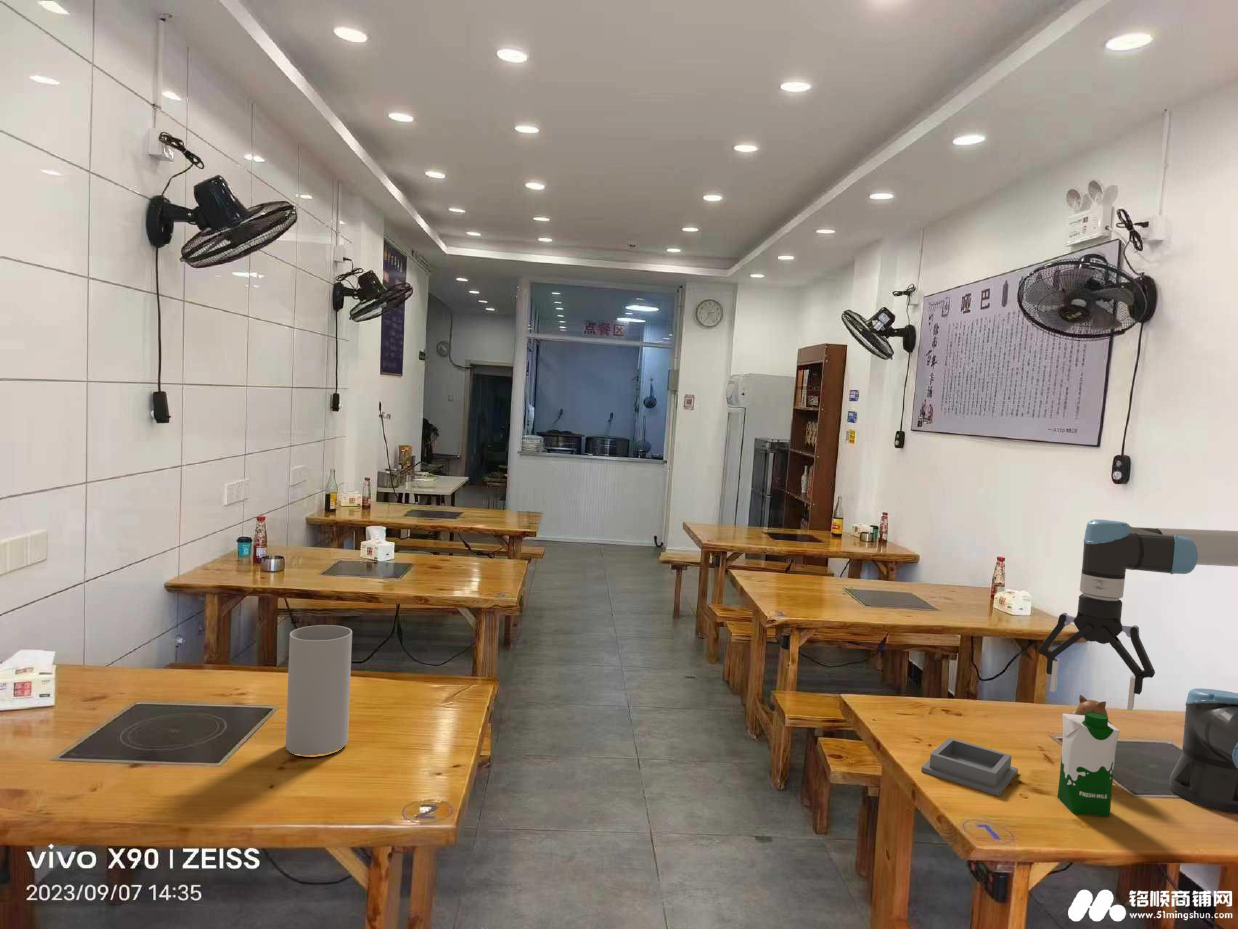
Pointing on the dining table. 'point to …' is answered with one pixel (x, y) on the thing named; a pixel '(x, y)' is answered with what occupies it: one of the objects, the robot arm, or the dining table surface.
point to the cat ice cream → (1090, 707)
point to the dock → (971, 766)
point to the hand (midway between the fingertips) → (1090, 699)
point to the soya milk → (1087, 763)
